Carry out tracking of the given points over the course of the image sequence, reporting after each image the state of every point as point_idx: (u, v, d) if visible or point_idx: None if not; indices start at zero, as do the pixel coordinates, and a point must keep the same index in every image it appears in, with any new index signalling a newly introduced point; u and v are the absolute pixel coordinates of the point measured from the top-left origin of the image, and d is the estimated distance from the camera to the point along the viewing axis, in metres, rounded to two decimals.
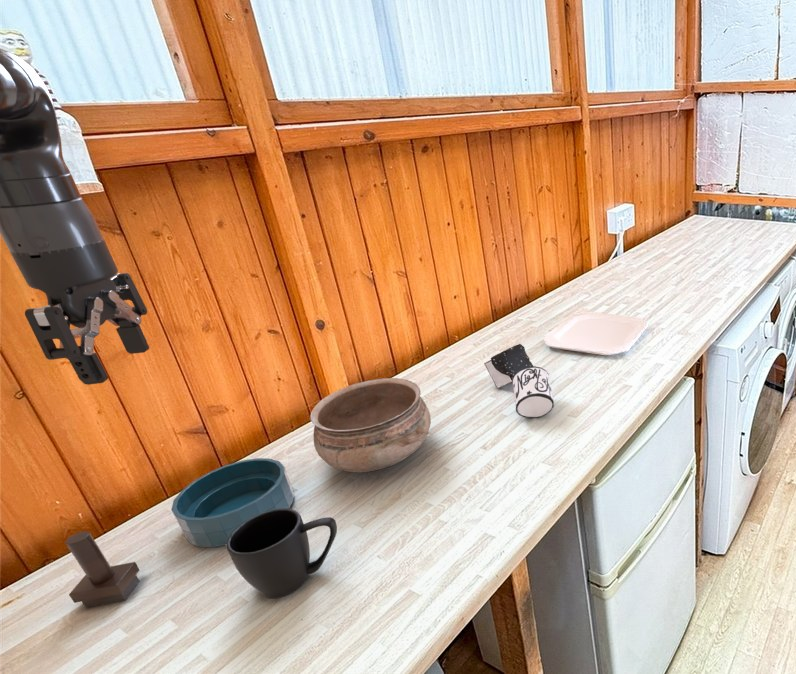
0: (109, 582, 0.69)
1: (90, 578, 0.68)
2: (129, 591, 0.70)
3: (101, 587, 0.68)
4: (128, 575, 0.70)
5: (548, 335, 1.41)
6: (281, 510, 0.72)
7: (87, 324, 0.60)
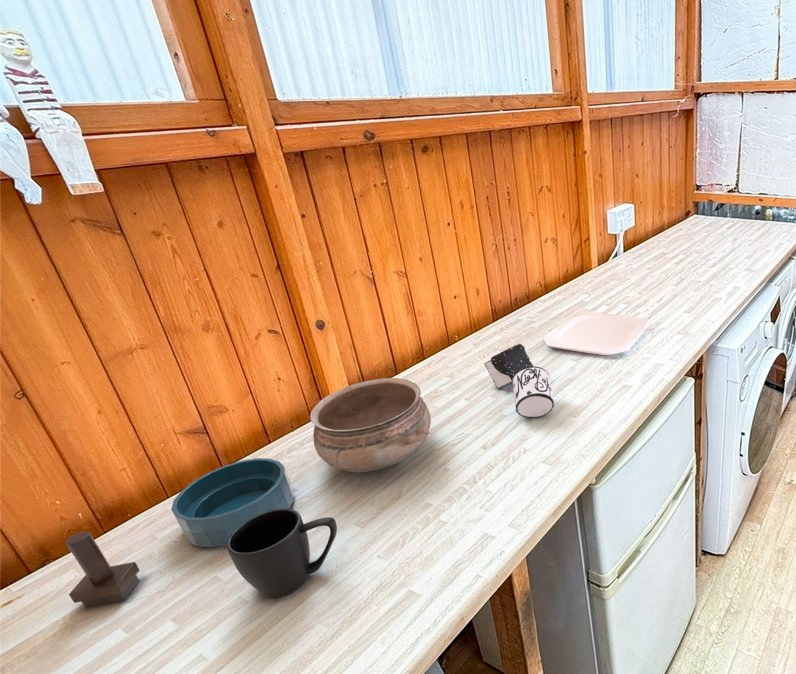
0: (109, 582, 0.69)
1: (90, 578, 0.68)
2: (129, 591, 0.70)
3: (101, 587, 0.68)
4: (128, 575, 0.70)
5: (548, 335, 1.41)
6: (281, 510, 0.72)
7: None
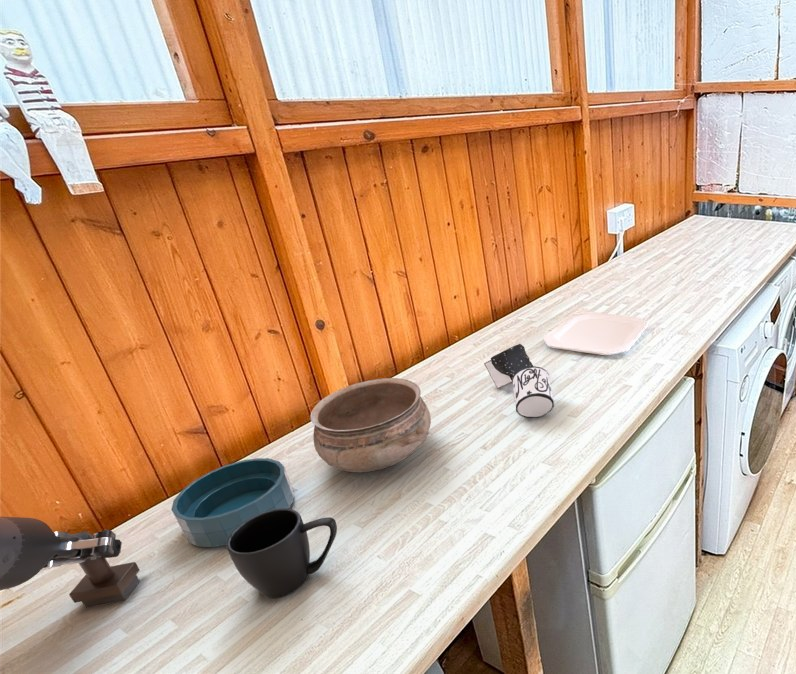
0: (109, 582, 0.69)
1: (90, 578, 0.68)
2: (129, 591, 0.70)
3: (101, 587, 0.68)
4: (128, 575, 0.70)
5: (548, 335, 1.41)
6: (281, 510, 0.72)
7: None
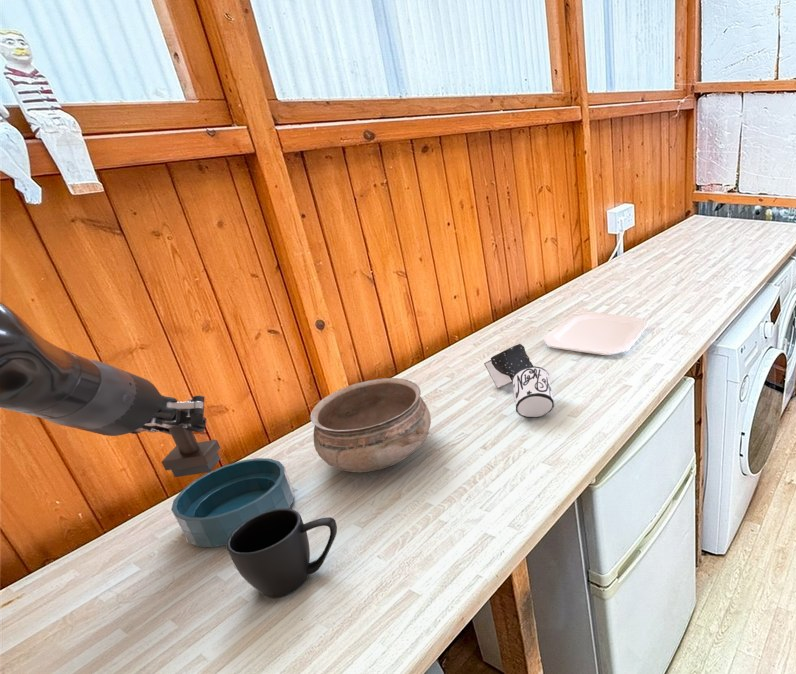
0: (196, 453, 0.75)
1: (180, 448, 0.74)
2: (212, 465, 0.77)
3: (190, 456, 0.74)
4: (212, 449, 0.76)
5: (548, 335, 1.41)
6: (281, 510, 0.72)
7: None
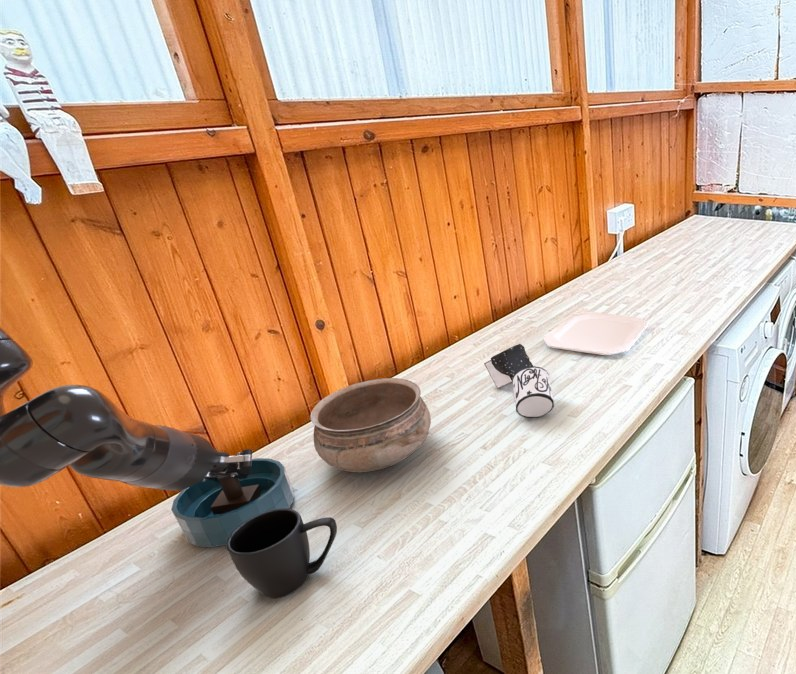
0: (241, 498, 0.81)
1: (227, 494, 0.80)
2: None
3: (236, 502, 0.81)
4: (255, 494, 0.83)
5: (548, 335, 1.41)
6: (281, 510, 0.72)
7: None
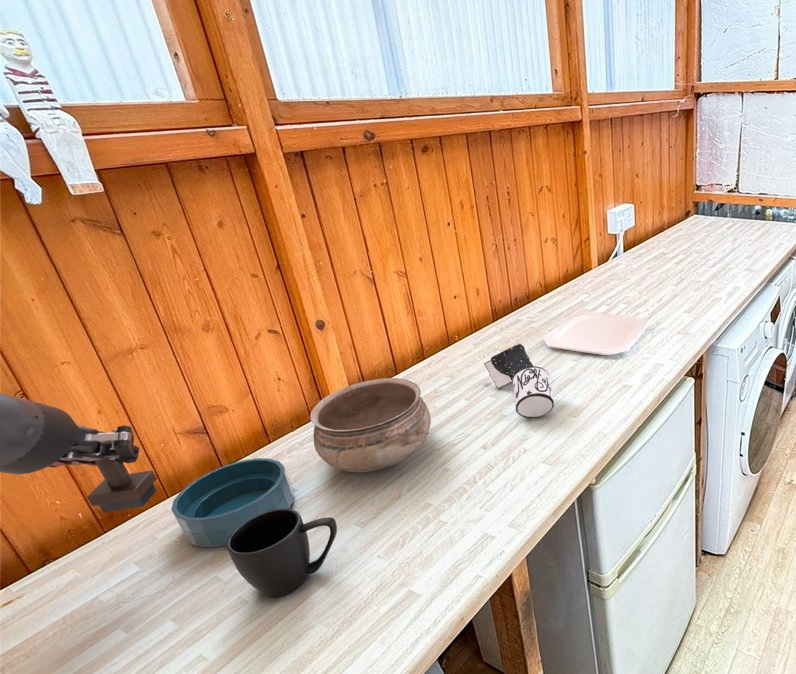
0: (127, 486, 0.68)
1: (108, 481, 0.67)
2: (147, 498, 0.70)
3: (119, 490, 0.67)
4: (146, 481, 0.70)
5: (548, 335, 1.41)
6: (281, 510, 0.72)
7: None
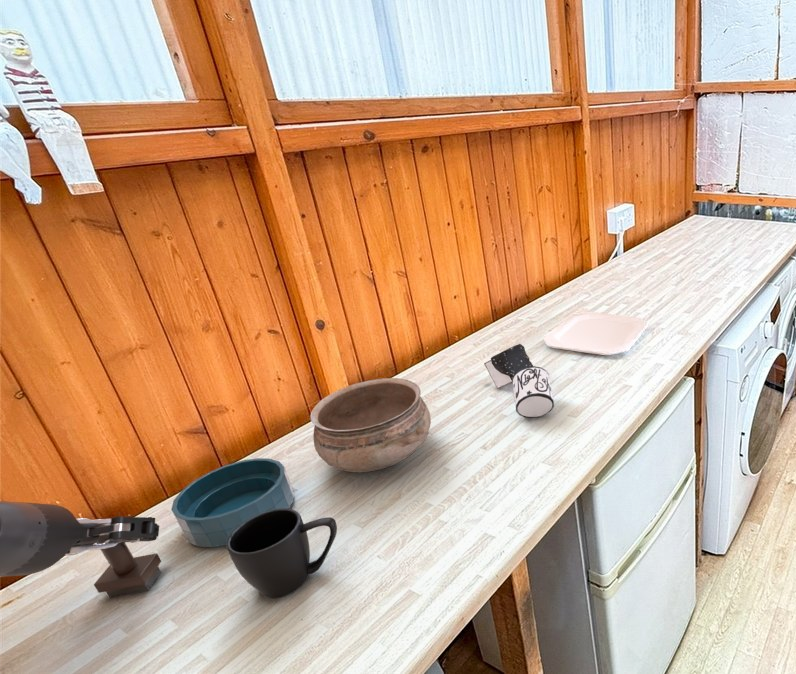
0: (133, 573, 0.70)
1: (114, 568, 0.69)
2: (152, 582, 0.72)
3: (125, 577, 0.69)
4: (151, 566, 0.71)
5: (548, 335, 1.41)
6: (281, 510, 0.72)
7: None
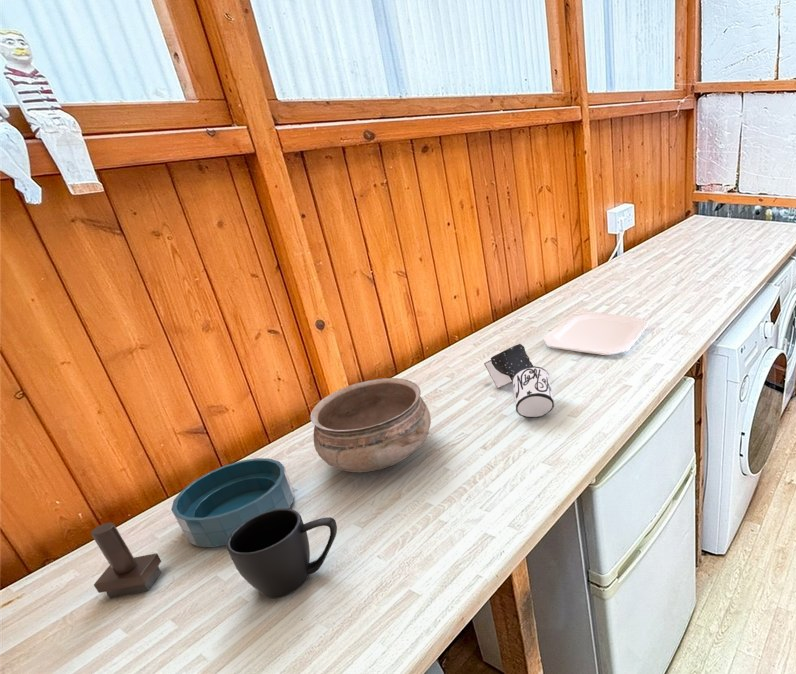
0: (133, 573, 0.70)
1: (114, 568, 0.69)
2: (152, 582, 0.72)
3: (125, 577, 0.69)
4: (151, 566, 0.71)
5: (548, 335, 1.41)
6: (281, 510, 0.72)
7: None
